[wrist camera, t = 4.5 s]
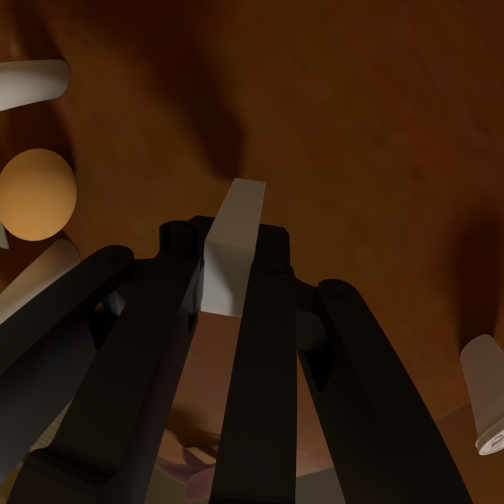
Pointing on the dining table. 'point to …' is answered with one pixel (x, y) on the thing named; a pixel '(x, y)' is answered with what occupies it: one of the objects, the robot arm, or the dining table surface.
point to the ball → (36, 194)
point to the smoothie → (486, 390)
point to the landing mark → (3, 237)
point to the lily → (191, 475)
